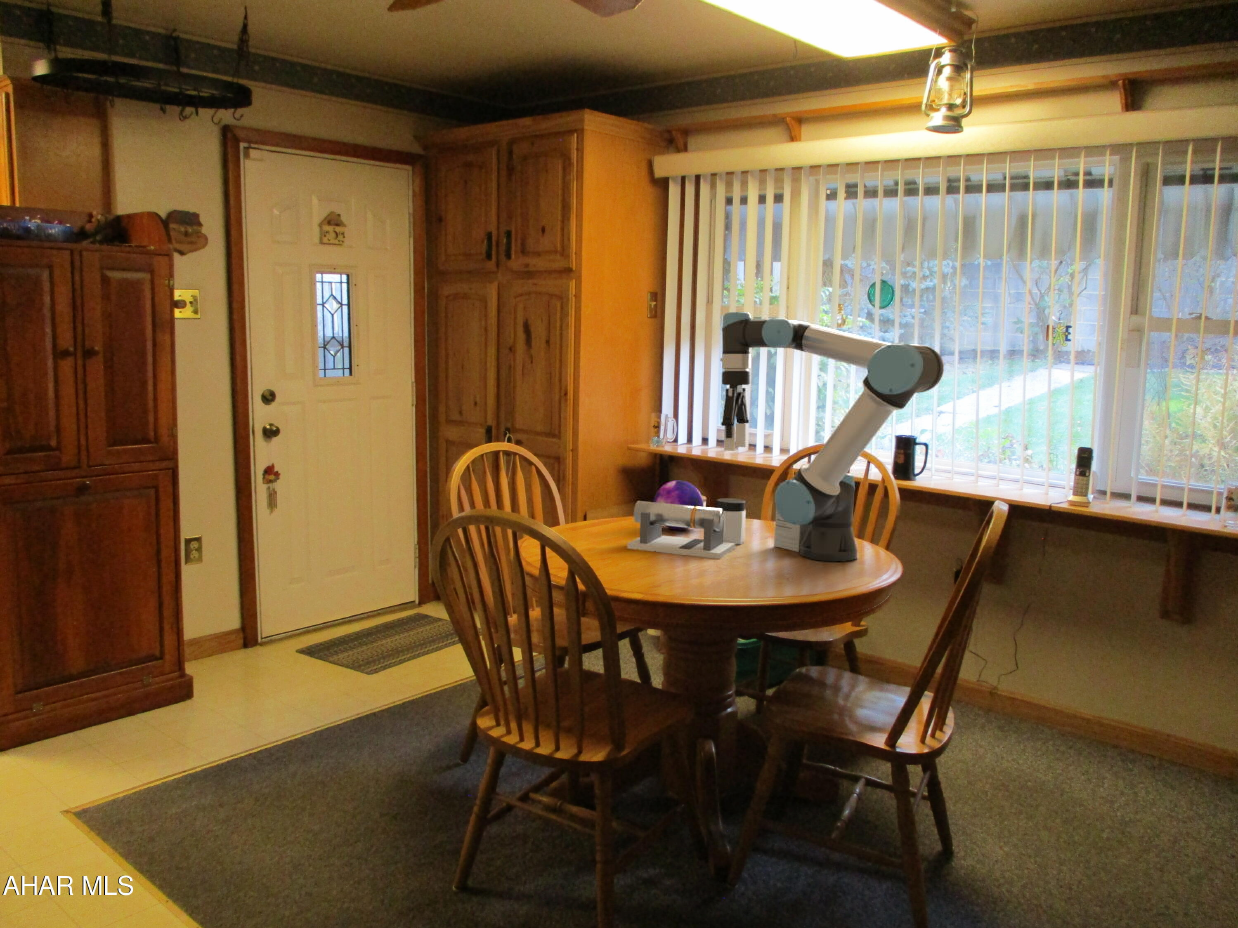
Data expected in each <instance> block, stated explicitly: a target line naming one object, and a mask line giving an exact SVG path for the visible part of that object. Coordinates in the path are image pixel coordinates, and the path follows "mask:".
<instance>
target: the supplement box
mask: <svg viewBox="0 0 1238 928" xmlns="http://www.w3.org/2000/svg"><path fill="white" fill-rule="evenodd" d="M774 521H775V524H774V536H773V537H774V539H773V540H774V541H773V547H776V548H780V549H786V550H789V551H794V552H798V553H800V545H801V543H802V540H803V538H804V535H805V532H806V530H807V527H808V524H806V525H793V524H790V523H788V522H786V521H785V520H784V519H783V518H782V517H781V516H780V515H779V513H778V511H777V509H776V508H775V520H774Z"/></svg>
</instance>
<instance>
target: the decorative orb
mask: <svg viewBox="0 0 1238 928" xmlns="http://www.w3.org/2000/svg"><path fill="white" fill-rule="evenodd" d="M701 495H702V494H701V492H700V490H699V489H698V488H697V487H696V486H695V485H693V484H692V483H690V482H688V481H685V480H681V479H680V480H671V481H669V482H666V483H665V484H663V485H662V486H661V487H660V488H659V489H658V490H657V492H656V493H655V496H654V499H653V502H655V503H666V504H677V505H687V506H700V507H703V499H702V496H703V495H702V496H701ZM663 526H664V527H665V528H667V529H670V530H672V531H683V530H686V529H688V528H686V527H676V526H667V525H663Z"/></svg>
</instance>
